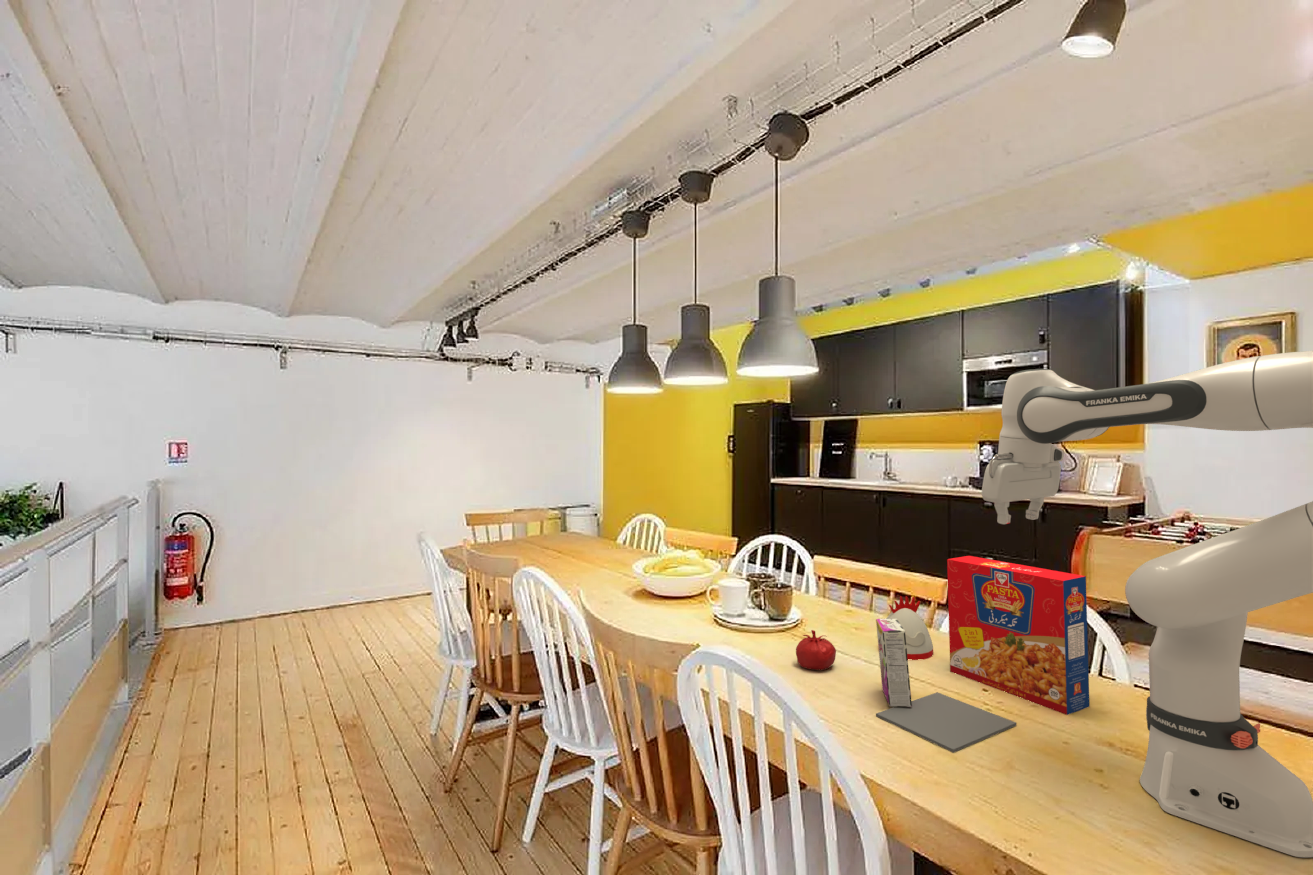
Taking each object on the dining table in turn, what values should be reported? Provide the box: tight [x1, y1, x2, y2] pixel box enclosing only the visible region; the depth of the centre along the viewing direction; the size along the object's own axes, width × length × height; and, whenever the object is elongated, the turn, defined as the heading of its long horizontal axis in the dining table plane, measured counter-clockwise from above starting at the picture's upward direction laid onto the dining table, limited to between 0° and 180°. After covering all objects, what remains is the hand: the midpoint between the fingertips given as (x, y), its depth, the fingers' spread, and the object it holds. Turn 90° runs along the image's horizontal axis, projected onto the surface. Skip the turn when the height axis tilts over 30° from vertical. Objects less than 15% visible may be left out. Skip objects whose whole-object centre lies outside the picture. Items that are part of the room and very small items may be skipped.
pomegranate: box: [795, 629, 837, 671], centre depth 160 cm, size 10×10×9 cm
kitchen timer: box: [885, 595, 934, 661], centre depth 170 cm, size 14×14×15 cm
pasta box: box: [946, 555, 1090, 716], centre depth 144 cm, size 28×8×28 cm, turn 26°
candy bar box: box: [875, 618, 912, 708], centre depth 139 cm, size 11×5×16 cm, turn 168°
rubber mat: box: [875, 691, 1017, 754], centre depth 128 cm, size 18×20×1 cm
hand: (1017, 521), depth 124 cm, fingers open, 8 cm apart
